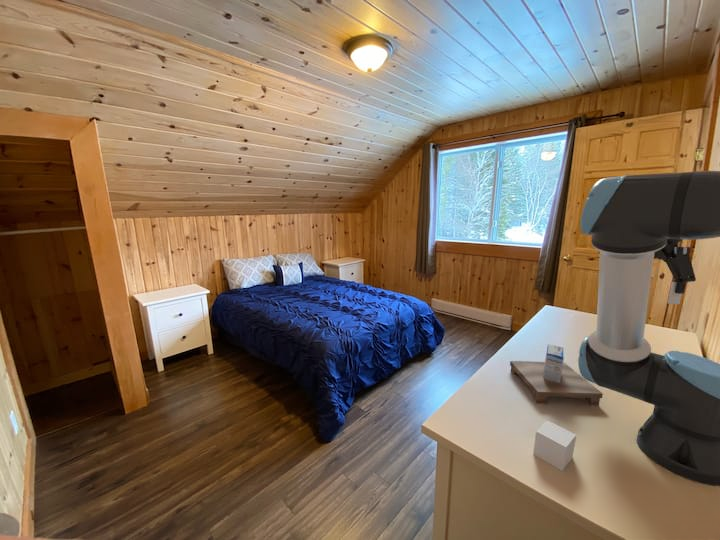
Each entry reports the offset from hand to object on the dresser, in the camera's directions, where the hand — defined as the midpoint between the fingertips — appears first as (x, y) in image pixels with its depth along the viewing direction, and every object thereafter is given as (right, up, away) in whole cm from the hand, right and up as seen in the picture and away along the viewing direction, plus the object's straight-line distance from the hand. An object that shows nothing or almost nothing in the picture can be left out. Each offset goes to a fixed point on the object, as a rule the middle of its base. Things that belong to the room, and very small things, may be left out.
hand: (652, 297), depth 95 cm
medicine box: (-30, -25, +1) cm, 39 cm away
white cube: (-47, -34, -25) cm, 63 cm away
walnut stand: (-30, -29, +2) cm, 42 cm away
